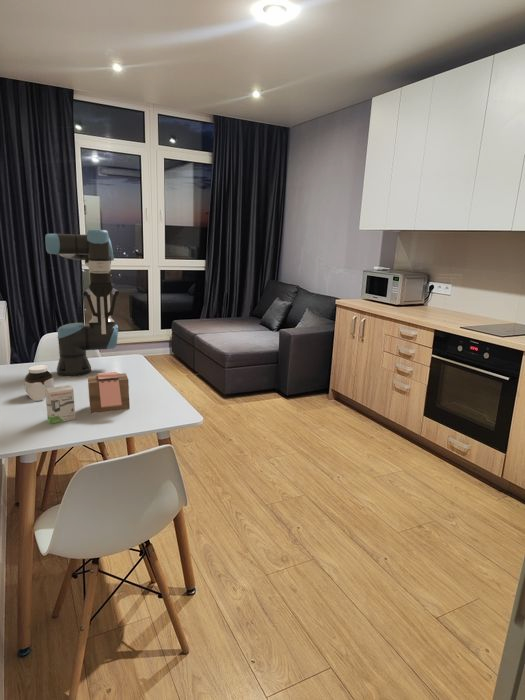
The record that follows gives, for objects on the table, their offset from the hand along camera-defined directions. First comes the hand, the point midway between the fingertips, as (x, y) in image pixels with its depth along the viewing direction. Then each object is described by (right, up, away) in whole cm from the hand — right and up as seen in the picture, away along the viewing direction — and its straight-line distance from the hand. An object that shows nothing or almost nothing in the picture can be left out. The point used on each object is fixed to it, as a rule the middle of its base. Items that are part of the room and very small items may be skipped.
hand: (103, 333), depth 170 cm
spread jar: (-29, -26, +8) cm, 39 cm away
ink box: (-10, -32, -13) cm, 36 cm away
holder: (+3, -29, -1) cm, 29 cm away
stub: (+6, -23, -10) cm, 25 cm away
